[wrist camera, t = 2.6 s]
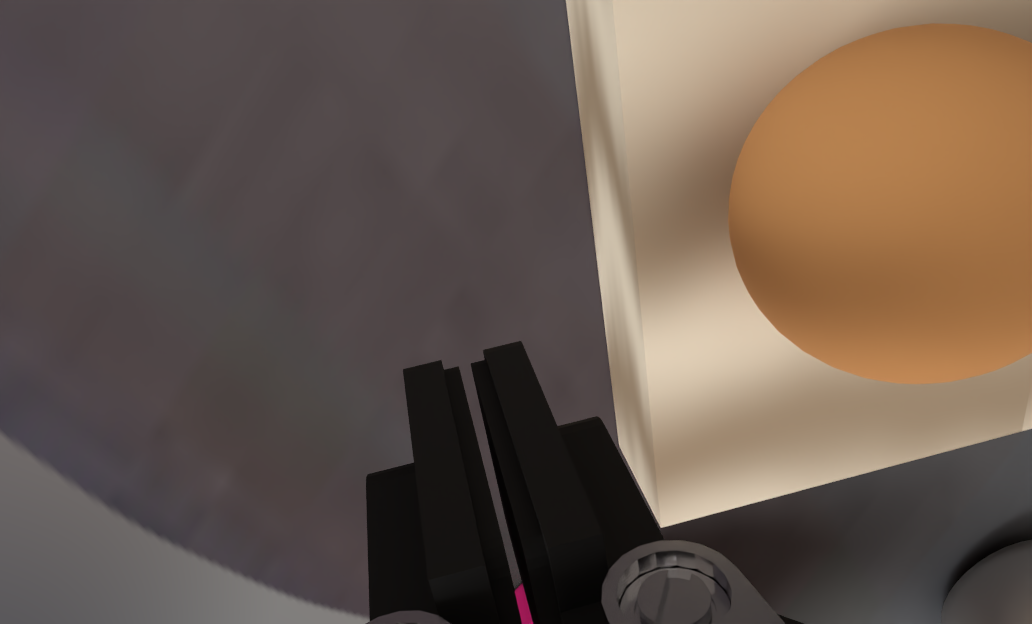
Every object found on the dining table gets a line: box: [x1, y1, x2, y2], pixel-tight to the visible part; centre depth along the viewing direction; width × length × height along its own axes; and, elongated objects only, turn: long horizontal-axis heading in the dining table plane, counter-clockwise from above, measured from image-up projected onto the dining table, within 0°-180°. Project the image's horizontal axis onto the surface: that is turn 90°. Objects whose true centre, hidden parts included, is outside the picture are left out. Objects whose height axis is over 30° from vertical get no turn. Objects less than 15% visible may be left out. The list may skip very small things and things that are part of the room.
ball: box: [728, 23, 1032, 384], centre depth 13 cm, size 6×6×6 cm
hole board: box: [566, 0, 1032, 528], centre depth 18 cm, size 18×20×4 cm
